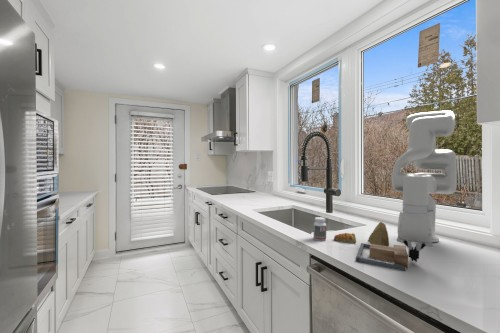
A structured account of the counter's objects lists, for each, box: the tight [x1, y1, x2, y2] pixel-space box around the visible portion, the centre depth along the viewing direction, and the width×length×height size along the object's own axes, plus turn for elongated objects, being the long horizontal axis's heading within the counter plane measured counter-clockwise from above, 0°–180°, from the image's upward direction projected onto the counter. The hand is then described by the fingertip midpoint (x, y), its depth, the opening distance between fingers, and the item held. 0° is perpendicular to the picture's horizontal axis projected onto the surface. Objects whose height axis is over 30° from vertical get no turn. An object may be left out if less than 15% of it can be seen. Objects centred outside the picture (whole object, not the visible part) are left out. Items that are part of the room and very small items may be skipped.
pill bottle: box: [313, 216, 327, 242], centre depth 114 cm, size 6×6×10 cm
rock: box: [367, 221, 390, 247], centre depth 106 cm, size 11×9×10 cm
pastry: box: [333, 232, 357, 244], centre depth 112 cm, size 9×7×4 cm
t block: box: [369, 243, 409, 269], centre depth 91 cm, size 12×12×4 cm
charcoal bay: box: [355, 242, 406, 272], centre depth 93 cm, size 18×15×2 cm
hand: (413, 260), depth 87 cm, fingers closed
